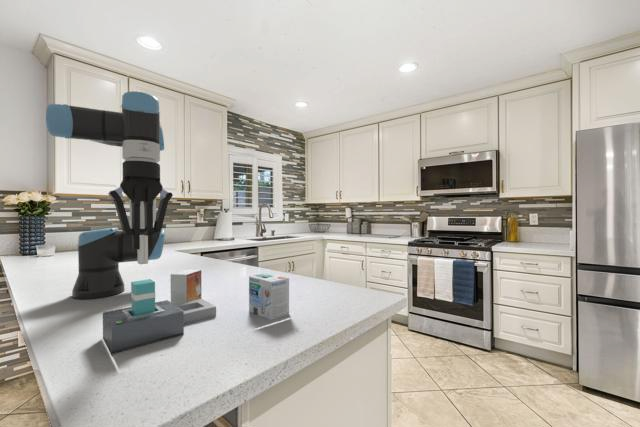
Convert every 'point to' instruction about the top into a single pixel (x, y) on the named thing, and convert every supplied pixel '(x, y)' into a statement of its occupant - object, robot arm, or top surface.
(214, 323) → the top surface
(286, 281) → the light bulb box
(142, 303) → the plug
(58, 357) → the top surface
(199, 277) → the small box
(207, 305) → the holster
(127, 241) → the robot arm
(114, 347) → the port panel
